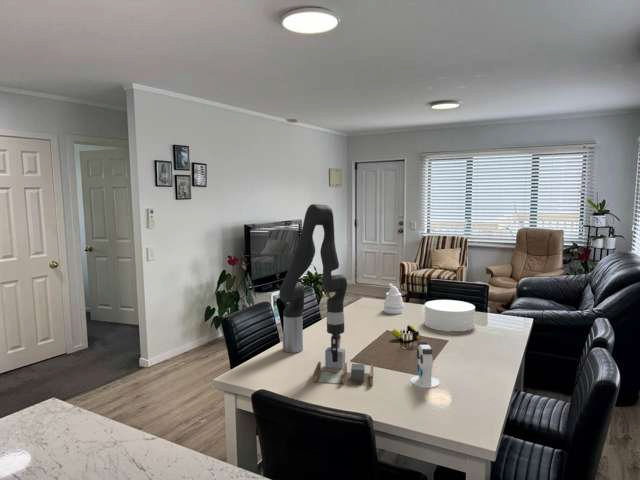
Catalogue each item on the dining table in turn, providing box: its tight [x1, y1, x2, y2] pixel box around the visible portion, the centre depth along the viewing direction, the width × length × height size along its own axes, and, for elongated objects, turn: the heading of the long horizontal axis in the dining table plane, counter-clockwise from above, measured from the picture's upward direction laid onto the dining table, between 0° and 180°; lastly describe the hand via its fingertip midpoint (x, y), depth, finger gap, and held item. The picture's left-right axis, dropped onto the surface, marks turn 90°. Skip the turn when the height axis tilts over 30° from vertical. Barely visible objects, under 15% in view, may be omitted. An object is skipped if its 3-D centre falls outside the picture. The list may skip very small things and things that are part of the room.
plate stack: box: [424, 299, 476, 332], centre depth 250 cm, size 28×28×12 cm
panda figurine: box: [409, 340, 441, 389], centre depth 172 cm, size 12×11×15 cm
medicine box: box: [324, 346, 346, 370], centre depth 186 cm, size 8×4×9 cm, turn 71°
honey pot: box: [383, 283, 405, 315], centre depth 281 cm, size 13×13×18 cm
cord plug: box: [350, 363, 366, 382], centre depth 175 cm, size 5×10×5 cm, turn 172°
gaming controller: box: [391, 324, 421, 341], centre depth 226 cm, size 15×6×10 cm
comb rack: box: [313, 361, 374, 387], centre depth 174 cm, size 23×12×5 cm, turn 81°
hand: (336, 358), depth 186 cm, fingers open, 8 cm apart
